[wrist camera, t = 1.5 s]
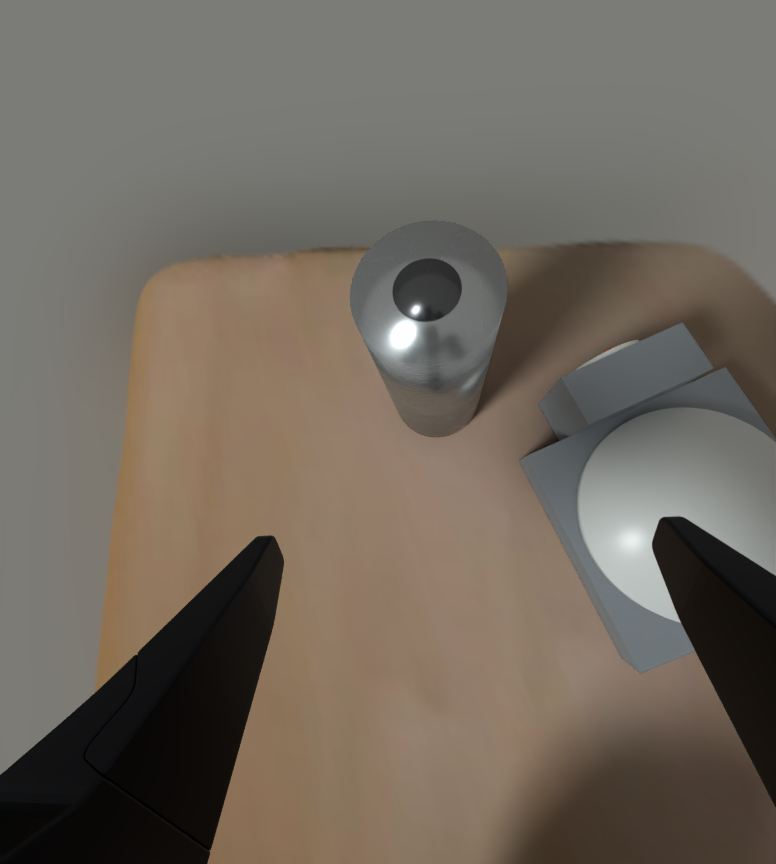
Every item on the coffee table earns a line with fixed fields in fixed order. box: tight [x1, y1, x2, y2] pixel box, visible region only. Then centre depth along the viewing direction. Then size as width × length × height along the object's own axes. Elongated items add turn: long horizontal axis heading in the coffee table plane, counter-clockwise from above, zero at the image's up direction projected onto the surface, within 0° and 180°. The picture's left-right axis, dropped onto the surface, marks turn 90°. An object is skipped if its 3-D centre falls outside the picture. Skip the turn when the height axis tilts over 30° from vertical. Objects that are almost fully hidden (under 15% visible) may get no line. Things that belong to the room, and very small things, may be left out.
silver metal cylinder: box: [350, 221, 508, 437], centre depth 19 cm, size 5×5×12 cm
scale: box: [519, 322, 776, 673], centre depth 19 cm, size 11×14×5 cm
